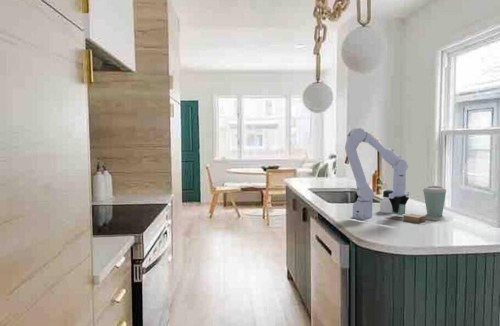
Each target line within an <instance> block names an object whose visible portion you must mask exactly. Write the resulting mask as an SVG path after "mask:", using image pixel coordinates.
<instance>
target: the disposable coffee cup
mask: <svg viewBox="0 0 500 326" xmlns="http://www.w3.org/2000/svg"><path fill="white" fill-rule="evenodd" d="M422 192H423V195H424V197H423V198H424V202H425V209H426V214H427V216H433V217H442V216H443V212H444V205H445V200H446V195H447V194H446V193H447V188H446V187H444V186H441V185H427V186H424V187H423V190H422Z"/></svg>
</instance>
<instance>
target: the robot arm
mask: <svg viewBox="0 0 500 326" xmlns="http://www.w3.org/2000/svg"><path fill="white" fill-rule="evenodd" d="M361 143H367V144H368V145H370V146H371V147H372V148H373V149H374V150H376V151H378V152H379V153H380V158H381V159H382V160H384V161H385V162H386V163H387V164H388V165H390V166H391V168H392V169H393V175H392V176H393V177H392V191H393V193H391V194H389V200H390V202H391V205H392V208H393V212H395V213H398V210H399V204H404V205H405V206H406V205H407V202H408V201H409V199H410V198H409V196H410V192H409V191H406V182H407V181H406V180H407V175H406V174H407V170H408V169H409V165H408V163H407V161H406V160H404V159H402V156H401V155H398V154H397V153H396V152H394V151H395V149H393V148H390V147H387V148H386V147H385V146H384V145H382V144H381V143H380V142H379V140H377V139H376V138H375V137H374V136H373V135H372V134H370V133H369V132H367V131H365V129H363V128H360V127H358V128H352V129H350V131H349V133H347V137H346V141H345V145H344V146H345V147H344V150H345V153H346V157H347V159H348V162H349V165H350V168H351V170H352V173H353V177H354V180H355V184H356V185H355V186H356V195H357V196H358V197H357V198H356V201H354V203H353V205H352V219H354V220H355V219H357V220H359V221H360V220H362V221H366V220H365V219H370V218H373V198H374V195H375V193H374V190H373V189H372V188H371V187H370V185H369V182H368V180H367V178H366V176H365V172H364V169H363V166H362V163H361V160H360V157H359V155H358V152H357V148H358V147H359V146H360V144H361Z"/></svg>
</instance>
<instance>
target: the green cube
mask: <svg viewBox="0 0 500 326" xmlns="http://www.w3.org/2000/svg"><path fill="white" fill-rule="evenodd" d="M391 214H392V215H406V205H404V204H399V210H398V213H395V212H393V208H392V213H391Z"/></svg>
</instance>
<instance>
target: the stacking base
mask: <svg viewBox="0 0 500 326" xmlns="http://www.w3.org/2000/svg"><path fill="white" fill-rule="evenodd" d="M385 219H387V220H392V221H398V222H399V221H400V222H405V223H409V224H416V225H421V226H425V225H429V224H432V223H433V224H434V223H435V222H438V220H437V219H430V218H427V216H426V215H424V214H418V213H417V214H416V213H409V214H402V215H397V214H394V215H391V216H390V215H389V216H386V217H385Z"/></svg>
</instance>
